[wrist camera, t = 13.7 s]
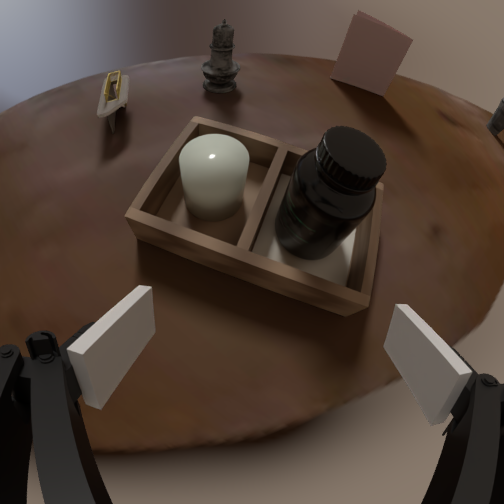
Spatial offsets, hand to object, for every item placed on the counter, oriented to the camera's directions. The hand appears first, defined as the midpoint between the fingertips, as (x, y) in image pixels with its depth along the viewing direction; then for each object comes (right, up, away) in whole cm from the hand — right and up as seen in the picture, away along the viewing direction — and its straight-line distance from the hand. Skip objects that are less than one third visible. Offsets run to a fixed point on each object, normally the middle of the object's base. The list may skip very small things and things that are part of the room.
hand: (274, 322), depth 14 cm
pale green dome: (-5, +9, +14) cm, 18 cm away
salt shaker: (-6, +30, +24) cm, 39 cm away
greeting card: (+19, +36, +30) cm, 50 cm away
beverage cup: (+73, +41, +39) cm, 93 cm away
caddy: (0, +7, +15) cm, 16 cm away
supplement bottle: (+4, +6, +14) cm, 16 cm away
